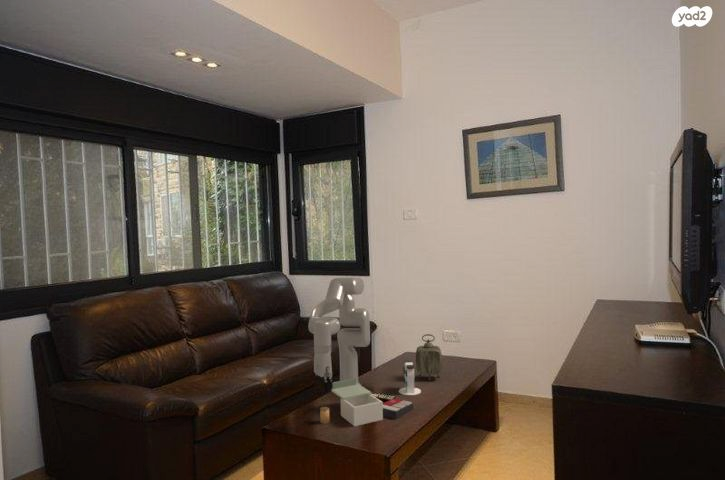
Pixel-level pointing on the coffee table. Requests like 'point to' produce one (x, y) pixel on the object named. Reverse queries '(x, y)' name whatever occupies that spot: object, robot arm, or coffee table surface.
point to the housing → (362, 409)
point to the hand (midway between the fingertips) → (323, 387)
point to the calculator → (396, 408)
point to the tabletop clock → (428, 359)
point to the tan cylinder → (324, 415)
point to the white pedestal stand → (409, 379)
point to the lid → (348, 389)
